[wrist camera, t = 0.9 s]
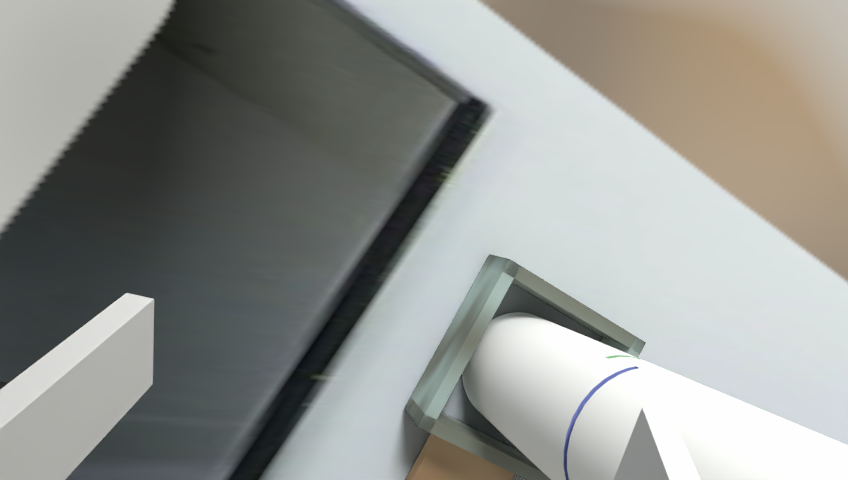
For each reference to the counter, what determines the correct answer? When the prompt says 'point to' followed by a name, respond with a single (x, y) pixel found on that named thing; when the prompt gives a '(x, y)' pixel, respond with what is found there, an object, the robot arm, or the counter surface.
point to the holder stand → (451, 439)
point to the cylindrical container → (625, 410)
